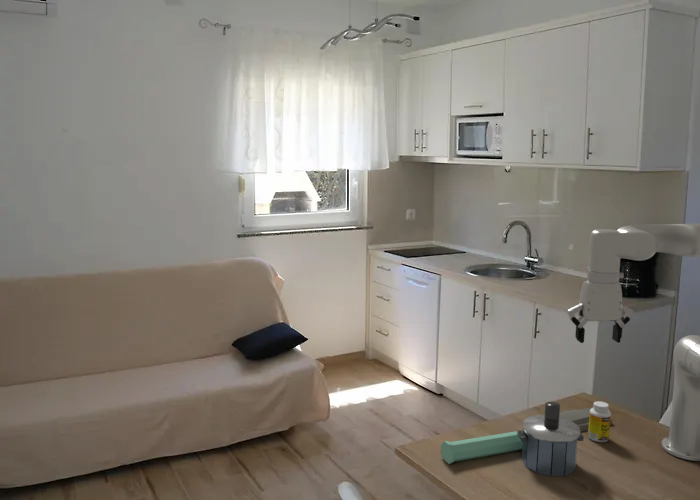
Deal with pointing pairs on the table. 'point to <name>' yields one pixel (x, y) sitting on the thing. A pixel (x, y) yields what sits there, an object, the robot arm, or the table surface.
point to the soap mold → (578, 417)
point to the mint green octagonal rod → (480, 447)
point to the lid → (551, 426)
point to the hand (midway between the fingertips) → (598, 341)
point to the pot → (548, 455)
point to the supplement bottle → (599, 422)
